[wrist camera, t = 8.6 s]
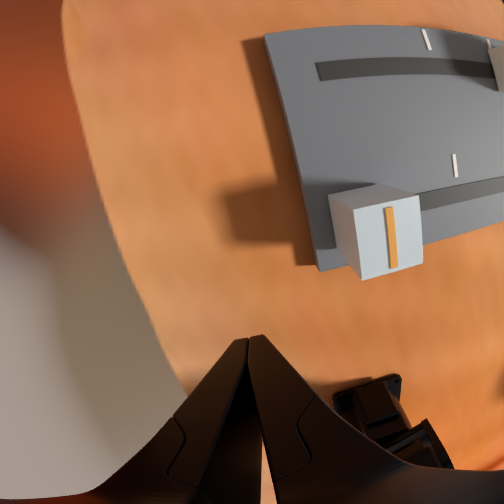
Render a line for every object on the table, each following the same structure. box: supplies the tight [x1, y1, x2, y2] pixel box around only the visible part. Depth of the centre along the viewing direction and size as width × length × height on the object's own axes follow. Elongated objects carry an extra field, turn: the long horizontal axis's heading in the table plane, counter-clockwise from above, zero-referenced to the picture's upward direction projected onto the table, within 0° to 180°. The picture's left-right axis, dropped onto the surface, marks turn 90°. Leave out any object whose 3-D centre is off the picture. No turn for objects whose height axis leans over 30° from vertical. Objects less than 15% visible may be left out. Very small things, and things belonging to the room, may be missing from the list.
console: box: [263, 25, 504, 272], centre depth 16 cm, size 15×22×2 cm
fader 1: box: [328, 184, 423, 281], centre depth 15 cm, size 4×4×5 cm
